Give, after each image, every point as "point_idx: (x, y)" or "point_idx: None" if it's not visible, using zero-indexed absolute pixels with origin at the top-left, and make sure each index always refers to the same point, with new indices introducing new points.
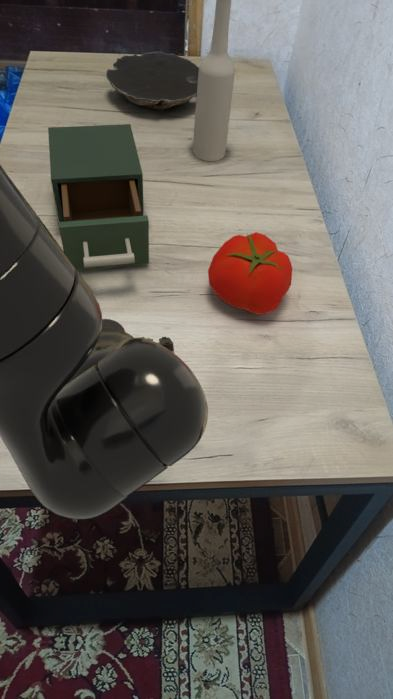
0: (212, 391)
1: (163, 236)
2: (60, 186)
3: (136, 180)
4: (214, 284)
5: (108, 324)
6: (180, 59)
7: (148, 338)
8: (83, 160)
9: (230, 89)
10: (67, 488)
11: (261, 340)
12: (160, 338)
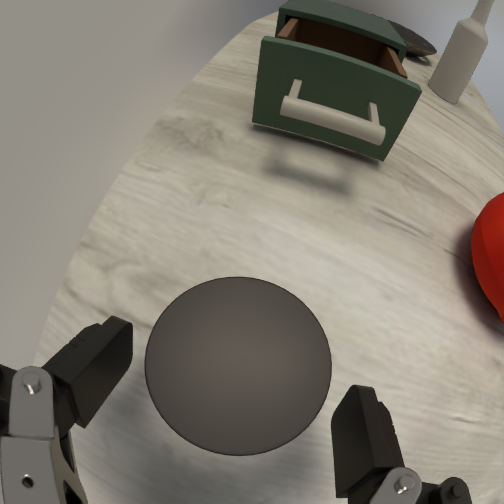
0: (406, 460)
1: (402, 137)
2: None
3: None
4: (489, 254)
5: (278, 318)
6: (416, 34)
7: (411, 487)
8: (330, 11)
9: (482, 52)
10: None
11: (493, 370)
12: (443, 484)
